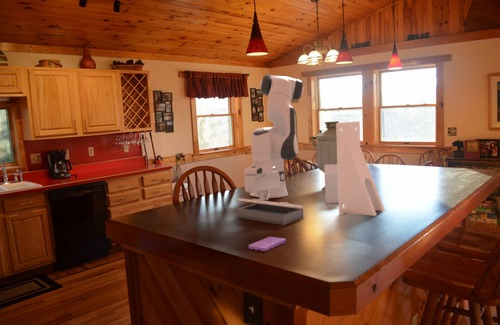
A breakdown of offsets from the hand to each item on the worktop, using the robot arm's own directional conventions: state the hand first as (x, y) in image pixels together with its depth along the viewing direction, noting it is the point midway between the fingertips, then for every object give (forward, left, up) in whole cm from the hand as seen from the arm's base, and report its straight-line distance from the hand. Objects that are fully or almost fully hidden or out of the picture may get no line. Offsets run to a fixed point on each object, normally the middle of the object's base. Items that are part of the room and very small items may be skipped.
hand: (264, 200), depth 174 cm
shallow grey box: (0, +4, -8) cm, 9 cm away
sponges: (+24, -27, -9) cm, 38 cm away
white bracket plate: (+30, +34, -9) cm, 46 cm away
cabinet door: (0, +4, -2) cm, 5 cm away
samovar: (-10, +81, -9) cm, 82 cm away
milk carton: (+7, +46, -9) cm, 47 cm away
